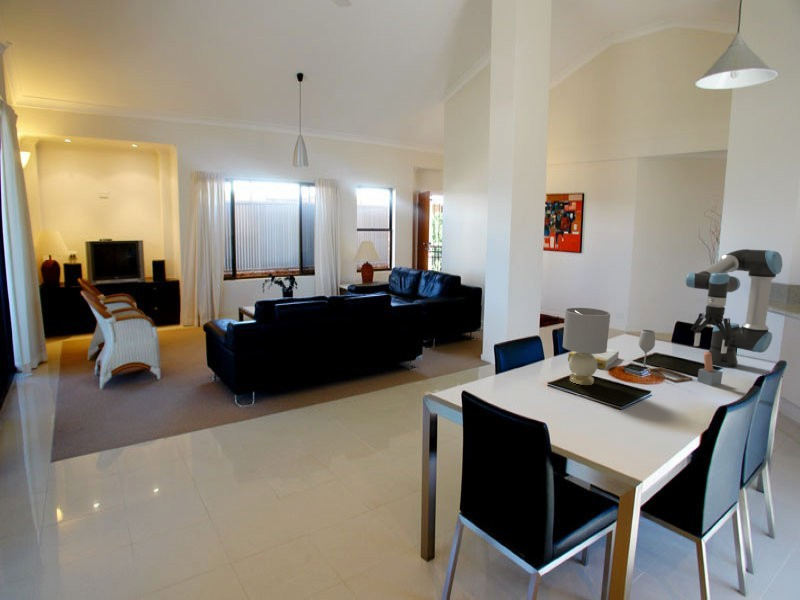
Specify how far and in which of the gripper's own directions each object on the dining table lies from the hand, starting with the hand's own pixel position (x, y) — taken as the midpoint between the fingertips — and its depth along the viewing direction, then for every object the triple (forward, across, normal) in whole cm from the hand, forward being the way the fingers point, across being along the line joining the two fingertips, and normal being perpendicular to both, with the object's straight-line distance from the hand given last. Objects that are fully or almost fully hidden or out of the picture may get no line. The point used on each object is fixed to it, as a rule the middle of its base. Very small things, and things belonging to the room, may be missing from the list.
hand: (709, 349), depth 233 cm
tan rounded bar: (+18, 0, +2) cm, 18 cm away
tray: (+18, -15, -7) cm, 25 cm away
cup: (+18, 0, +3) cm, 19 cm away
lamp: (+19, -24, -54) cm, 62 cm away
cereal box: (+19, -52, -20) cm, 59 cm away
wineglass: (+19, -30, -6) cm, 36 cm away
